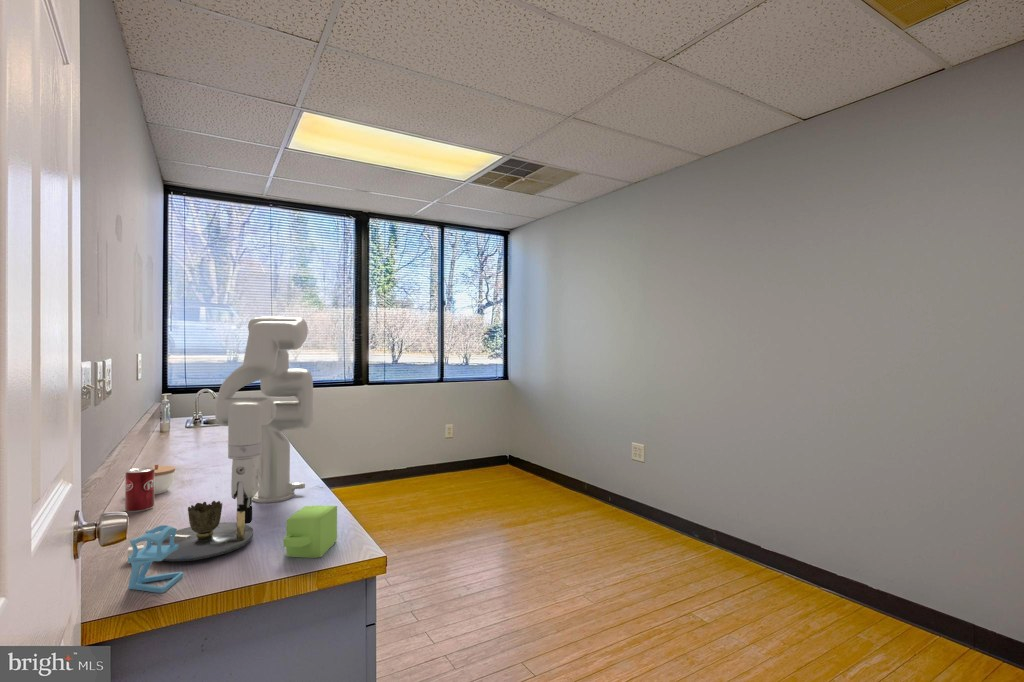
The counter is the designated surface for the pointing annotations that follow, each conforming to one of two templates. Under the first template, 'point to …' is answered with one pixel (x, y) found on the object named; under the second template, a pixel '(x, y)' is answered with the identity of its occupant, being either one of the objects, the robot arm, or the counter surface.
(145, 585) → the chair
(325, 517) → the gearbox
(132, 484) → the soda can
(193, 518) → the cup
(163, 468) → the lidded jar
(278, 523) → the counter surface
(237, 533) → the turntable
